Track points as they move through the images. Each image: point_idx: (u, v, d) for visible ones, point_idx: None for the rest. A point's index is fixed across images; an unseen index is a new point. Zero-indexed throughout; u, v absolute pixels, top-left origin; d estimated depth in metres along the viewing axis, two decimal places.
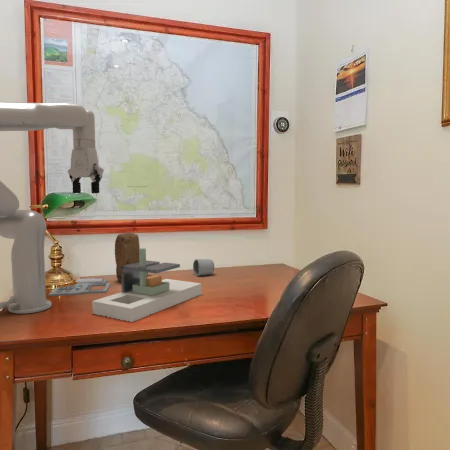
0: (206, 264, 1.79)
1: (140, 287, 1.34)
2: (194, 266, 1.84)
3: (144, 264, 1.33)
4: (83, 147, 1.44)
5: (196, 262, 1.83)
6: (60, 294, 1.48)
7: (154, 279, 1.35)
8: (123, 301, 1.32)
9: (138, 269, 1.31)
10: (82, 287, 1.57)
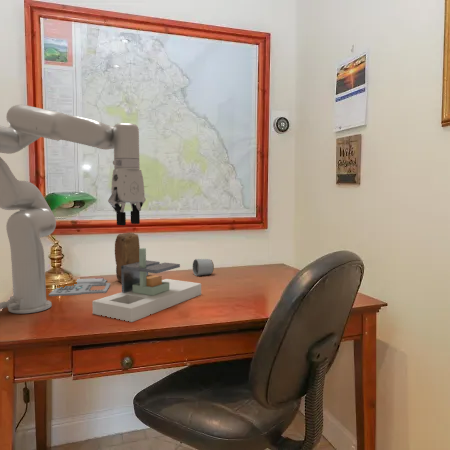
0: (206, 263, 1.80)
1: (140, 287, 1.34)
2: (194, 266, 1.84)
3: (144, 264, 1.33)
4: (139, 168, 1.26)
5: (196, 262, 1.84)
6: (60, 294, 1.48)
7: (154, 279, 1.35)
8: (123, 301, 1.32)
9: (138, 269, 1.31)
10: (82, 287, 1.57)
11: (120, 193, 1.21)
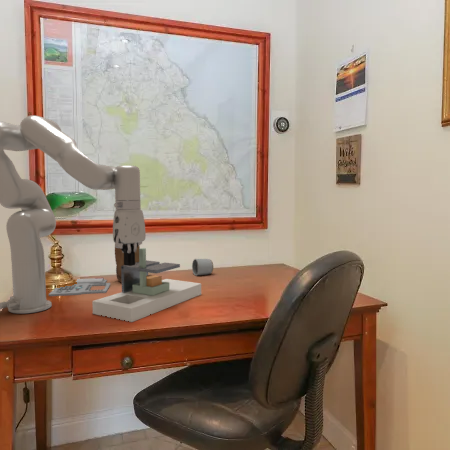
0: (205, 263, 1.80)
1: (140, 287, 1.34)
2: (193, 266, 1.85)
3: (144, 264, 1.33)
4: (140, 209, 1.27)
5: (195, 262, 1.84)
6: (60, 294, 1.48)
7: (154, 279, 1.35)
8: (123, 301, 1.32)
9: (138, 269, 1.31)
10: (82, 287, 1.57)
11: (121, 235, 1.22)
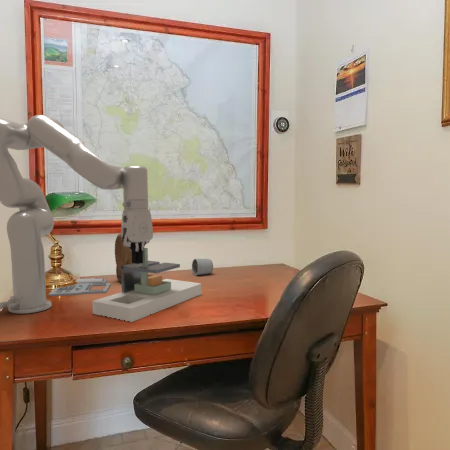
0: (205, 263, 1.81)
1: (142, 286, 1.35)
2: (193, 266, 1.85)
3: (146, 264, 1.33)
4: None
5: (195, 262, 1.85)
6: (60, 294, 1.48)
7: (155, 279, 1.35)
8: (123, 301, 1.32)
9: (138, 269, 1.31)
10: (82, 287, 1.57)
11: (129, 234, 1.25)
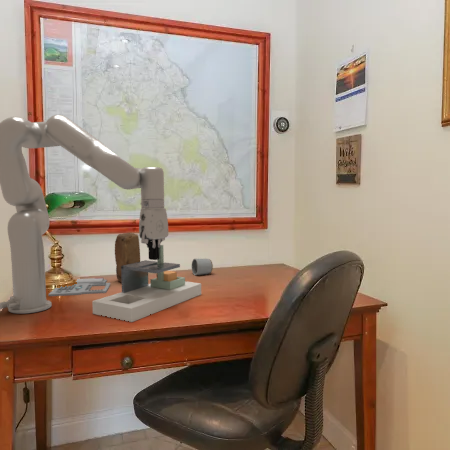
0: (205, 263, 1.81)
1: (158, 282, 1.42)
2: (193, 265, 1.85)
3: (162, 260, 1.40)
4: None
5: (195, 261, 1.85)
6: (60, 294, 1.48)
7: (170, 274, 1.42)
8: (123, 301, 1.32)
9: (138, 269, 1.31)
10: (82, 287, 1.57)
11: (147, 231, 1.32)
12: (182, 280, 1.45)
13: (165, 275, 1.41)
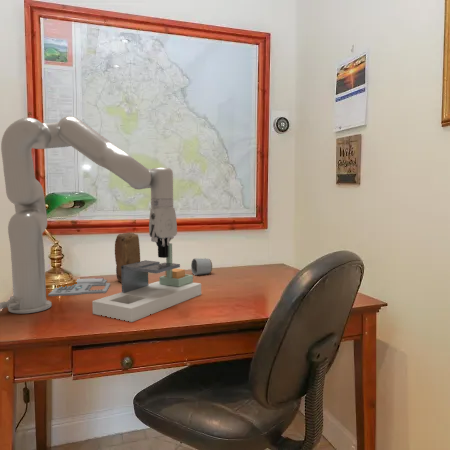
0: (204, 263, 1.81)
1: (167, 279, 1.46)
2: (192, 265, 1.86)
3: (170, 258, 1.45)
4: None
5: (194, 261, 1.85)
6: (60, 294, 1.48)
7: (178, 272, 1.46)
8: (123, 301, 1.32)
9: (138, 269, 1.31)
10: (82, 287, 1.57)
11: (157, 230, 1.36)
12: (190, 277, 1.49)
13: (174, 273, 1.45)
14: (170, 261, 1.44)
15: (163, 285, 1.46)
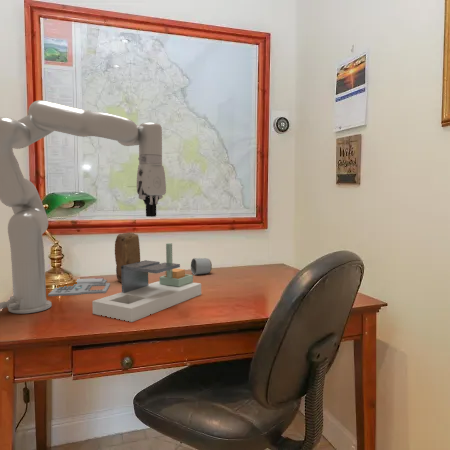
0: (204, 263, 1.82)
1: (167, 279, 1.46)
2: (192, 265, 1.86)
3: (171, 258, 1.45)
4: None
5: (194, 261, 1.86)
6: (59, 294, 1.48)
7: (178, 272, 1.46)
8: (123, 301, 1.32)
9: (138, 269, 1.31)
10: (82, 287, 1.57)
11: (145, 187, 1.32)
12: (190, 277, 1.49)
13: (174, 273, 1.45)
14: (170, 261, 1.44)
15: (163, 285, 1.46)
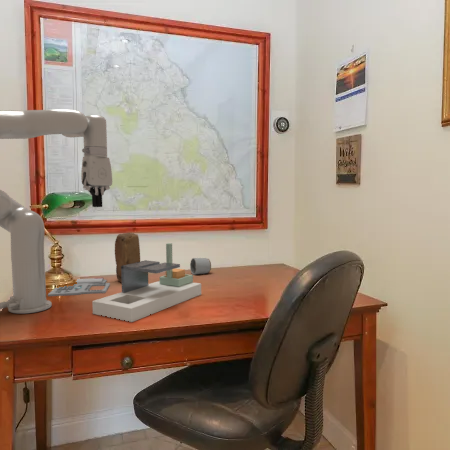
0: (203, 262, 1.82)
1: (167, 279, 1.46)
2: (191, 265, 1.87)
3: (171, 258, 1.45)
4: None
5: (193, 261, 1.87)
6: (59, 294, 1.48)
7: (178, 272, 1.46)
8: (123, 301, 1.32)
9: (138, 269, 1.31)
10: (81, 287, 1.57)
11: (88, 177, 1.35)
12: (190, 277, 1.49)
13: (174, 273, 1.45)
14: (170, 261, 1.44)
15: (163, 285, 1.46)
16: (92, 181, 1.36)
